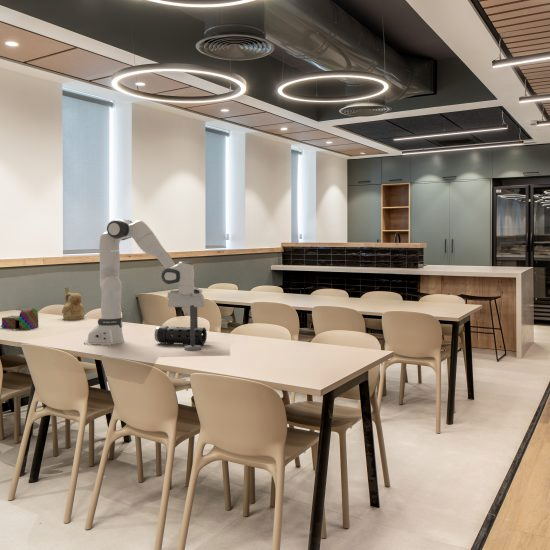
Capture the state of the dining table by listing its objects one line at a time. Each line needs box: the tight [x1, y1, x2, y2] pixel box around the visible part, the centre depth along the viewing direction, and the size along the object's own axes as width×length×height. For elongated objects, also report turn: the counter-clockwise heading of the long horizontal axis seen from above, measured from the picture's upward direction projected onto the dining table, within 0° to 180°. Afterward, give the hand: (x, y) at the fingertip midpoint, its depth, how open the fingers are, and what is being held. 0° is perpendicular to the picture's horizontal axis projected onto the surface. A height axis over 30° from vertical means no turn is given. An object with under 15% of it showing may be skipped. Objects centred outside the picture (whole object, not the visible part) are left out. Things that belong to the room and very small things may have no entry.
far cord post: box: [195, 307, 199, 328], centre depth 335 cm, size 9×9×24 cm
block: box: [0, 308, 39, 331], centre depth 387 cm, size 25×17×14 cm
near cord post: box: [183, 305, 202, 352], centre depth 305 cm, size 9×9×24 cm
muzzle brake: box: [154, 325, 208, 346], centre depth 320 cm, size 10×28×10 cm, turn 78°
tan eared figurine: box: [61, 287, 85, 321], centre depth 424 cm, size 17×20×25 cm
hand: (186, 314), depth 319 cm, fingers closed
